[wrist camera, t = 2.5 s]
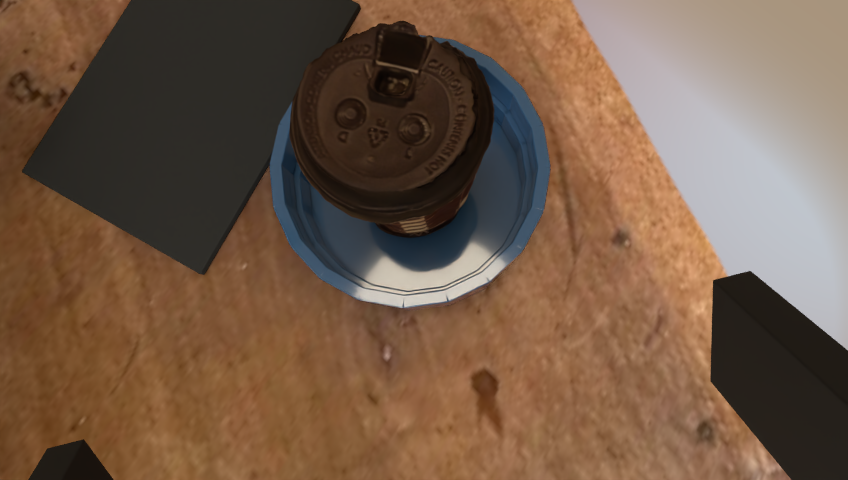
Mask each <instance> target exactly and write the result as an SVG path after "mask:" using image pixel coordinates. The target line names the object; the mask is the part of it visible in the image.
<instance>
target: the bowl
mask: <svg viewBox="0 0 848 480" xmlns="http://www.w3.org/2000/svg"><path fill="white" fill-rule="evenodd" d="M419 36H421V37H426V36H423V35H419ZM433 38H434V39H435V40H436V41H437V42H439V43H443V42H445V41H448V42H449V43H450V44H451V45H452V46H454V47H456V48H457V49H459V50H460V51H463V52H464V53H465V55H467V56H469V57H472V58H474V59H475V61H476V62H477V63H476V64H477V66H478V68H479V69H480V70H481V71H482V73H483V74H484V76H485V80H486V82H487V84H488V86H489V89H490V92H491V95H492V101H493V106H494V123H493V129H492V135H491V142H490V144H489V147H488V149H487V150H486V152H485V154H484V156H483V159H482V161H481V164H480V166H479V169H478V171H477V173H476V176H475V179H474V181H473V184H472V186H471V188H470V191H469V193H468V197H467V200H466V202H465V203H464V204H463V205H462V207H461V208H460V209H459V211H458V213H457V215H456V217H455V218H454V220H453V221H452V222H451V223H449V224H448V225H446V226H445V227H443V228H442V229H440V230H438V231H435V232H433V233H431V234H428V235H426V236H420V237H413V238H407V237H399V236H394V235H390V234H388V233H386V232H384V231H382V230H380V229H379V228H378V226H377V225H376V223H374V222H369V221H364V220H361V219H358V218H354V217H351V216H349V215H348V214H346V213H345V212H343V211H341V210H340V209H338V208H336V207H335V206H333V205H332V204H331V203H329V202H327V201H326V200H325V199H324V198H323V197H322V196H321V195H320V193H319V192H318V191H317V190H316V189H315V188H314V187H313V186H312V185H311V184H310V183H309V181H308V180H307V178H306V177H305V176H304V174H303V172H302V171H301V169H300V167H299V164H298V162H297V160H296V157H295V153H294V150H293V147H292V144H291V141H290V136H289V129H290V115H291V107H292V103H291V104H290V106H289V108H288V109H287V111H286V113H285V114H284V116H283V118H282V120H281V121H280V124H279V126H278V130H277V135H276V139H275V143H274V147H273V152H272V156H271V160H270V176H271V188H272V199H273V206H274V210H275V212H276V215H277V217H278V219H279V222H280V224H281V226H282V228H283V231H284V233H285V235H286V238H287V240H288V242H289V244H290V246H291V248H292V249H293V250H294V251H295V252H296V253H297V254H298V255H299V256H300V258H301V259H302V260H303V261H304V262H305V263H306V264H307V265H308V266H309V267H310V268H311V270H312V271H313V272H314V273H315V274H316V275H317V276H318V277H319V278H320V279H321V280H323V281H325V282H327V283H328V284H330V285H332V286H334V287H336V288H337V289H339V290H341V291H343V292H345V293H346V294H348V295H350V296H352V297H354V298H355V299H357V300H360V301H364V302H368V303H372V304H377V305H383V306H388V307H393V308H399V309H404V310H420V309H427V308H435V307H442V306H449V305H452V304H454V303H456V302H458V301H460V300H463V299H465V298H467V297H469V296H471V295H473V294H475V293H477V292H479V291H481V290H483V289H485V288H486V287H488V286H489V285H490V284H491V283H492V282H493V281H494V280H495V279H496V278H497V277H498V276H499V275H500V274H501V273H502V272H503V271H504V270H506V269H507V268H508V267H509V266H510V265H511V264H512V263H513V262H514V261H515V260H516V258H517V257H518V256H519V255H520V254H521V252H522V251H523V250H524V248H525V246H526V244H527V242H528V240H529V238H530V237H531V235H532V233H533V231H534V229H535V227H536V225H537V223H538V221H539V219H540V218H541V216H542V214H543V211H544V207H545V201H546V195H547V188H548V182H549V176H550V170H551V169H550V160H549V154H548V148H547V142H546V137H545V131H544V126H543V123H542V121H541V120H540V118H539V116H538V114H537V112H536V110H535V108H534V107H533V105H532V103H531V101H530V99H529V97H528V95H527V94H526V92H525V90H524V89H523V87H522V86H521V85H520V84H519V83H518V82H517V81H516V80H515V79H514V78H513V77H511V76H510V75H509V74H508V73H507V72H506V71H505V70H504V69H503V68H502V67H501V66H500V65H499V64H498V63H497V62H496V61H494V60H493V59H492V58H491V57H489V56H487V55H484V54H482V53H480V52H478V51H476V50H474V49H472V48H470V47H468V46H466V45H463V44H461V43H459V42H457V41H455V40H451V39H444V38H437V37H433Z"/></svg>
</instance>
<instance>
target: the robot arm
mask: <svg viewBox="0 0 848 480" xmlns="http://www.w3.org/2000/svg"><path fill="white" fill-rule="evenodd" d="M711 382H712V383H713V385H714V386H715V387H716V388H717V390H718V391H719V392H720V393H721V394H722V396H723V397H724V398H725V399H726V400H727V402H728V403H729V404H730V405H731V407H732V408H733V409H734V410H735V411H736V413H737V414H738V415H739V416H740V418H741V419H742V420H743V421H744V422H745V424H746V425H747V426H748V427H749V428H750V430H751V431H752V432H753V433H754V435H755V436H756V437H757V438H758V439H759V441H760V442H761V443H762V444H763V445H764V447H765V448H766V449H767V450H768V452H769V453H770V454H771V455H772V456H773V458H774V459H775V460H776V461H777V463H778V464H779V465H780V466H781V467H782V469H783V470H784V471H785V472H786V473H787V475H788V476H789V477H790V478H791V480H848V350H846V349H845V348H844V347H843V346H842V345H840V344H839V343H838V342H837V341H835V340H834V339H833V338H832V337H831V336H829V335H828V334H827V333H826V332H824V331H823V330H822V329H821V328H819V327H818V326H817V325H816V324H815V323H813V322H812V321H811V320H810V319H808V318H807V317H806V316H805V315H804V314H802V313H801V312H800V311H799V310H797V309H796V308H795V307H794V306H792V305H791V304H790V303H789V302H787V301H786V300H785V299H784V298H783V297H782V296H780V295H779V294H778V293H777V292H775V291H774V290H773V289H772V288H771V287H769V286H768V285H767V284H766V283H764V282H763V281H762V280H761V279H760V278H758V277H757V276H756V275H755V274H753V273H752V272H751V271H749V272H744V273H740V274H736V275H732V276H728V277H724V278H720V279H716V280H713V307H712V345H711ZM29 480H113V478H112V477H111V476H110V474H109V473H108V472H107V470H106V469H105V468H104V466H103V465H102V463H101V462H100V461H99V459H98V458H97V457H96V455H95V454H94V453H93V451H92V450H91V448H90V447H89V446H88V444H87V443H86V442H85V440H80V441H76V442H72V443H68V444H64V445H60V446H56V447H52V448H48V449H47V450H46V452H45V453H44V455H43V457H42V458H41V460H40V462H39V463H38V465H37V467H36V468H35V470H34V471H33V473H32V475H31V476H30V478H29Z"/></svg>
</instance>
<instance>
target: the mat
mask: <svg viewBox="0 0 848 480" xmlns="http://www.w3.org/2000/svg"><path fill="white" fill-rule="evenodd" d="M360 9H361V8H360V5H359V4H358V3H356V2H354V1H352V0H131V1H130V3H129V4H128V6H127V8H126V9H125V11H124V12H123V14H122V15H121V17H120V19H119V20H118V22H117V23H116V25H115V26H114V28H113V29H112V31H111V33H110V34H109V36H108V37H107V39H106V40H105V42H104V44H103V45H102V47H101V48H100V50H99V51H98V53H97V54H96V56H95V58H94V59H93V61H92V62H91V64H90V65H89V67H88V69H87V70H86V72H85V73H84V75H83V76H82V78H81V79H80V81H79V83H78V84H77V86H76V87H75V89H74V90H73V92H72V94H71V95H70V97H69V98H68V100H67V101H66V103H65V104H64V106H63V108H62V109H61V111H60V112H59V114H58V115H57V117H56V119H55V120H54V122H53V123H52V125H51V126H50V128H49V129H48V131H47V133H46V134H45V136H44V137H43V139H42V140H41V142H40V144H39V145H38V147H37V148H36V150H35V151H34V153H33V154H32V156H31V158H30V159H29V161H28V162H27V164H26V165H25V167H24V169H23V170H22V172H23V173H25V174H26V175H28V176H30V177H31V178H33V179H35V180H37V181H38V182H40V183H42V184H44V185H45V186H47V187H49V188H51V189H52V190H54V191H56V192H58V193H59V194H61V195H63V196H65V197H66V198H68V199H70V200H72V201H73V202H75V203H77V204H79V205H80V206H82V207H84V208H86V209H87V210H89V211H91V212H93V213H94V214H96V215H98V216H100V217H101V218H103V219H105V220H107V221H108V222H110V223H112V224H114V225H115V226H117V227H119V228H121V229H122V230H124V231H126V232H128V233H129V234H131V235H133V236H135V237H136V238H138V239H140V240H142V241H143V242H145V243H147V244H149V245H150V246H152V247H154V248H156V249H157V250H159V251H161V252H163V253H164V254H166V255H168V256H170V257H171V258H173V259H175V260H176V261H178V262H180V263H182V264H183V265H185V266H187V267H189V268H190V269H192V270H194V271H196V272H197V273H199V274H205V272H206V271H207V269H208V267H209V266H210V264H211V262H212V260H213V259H214V257H215V255H216V254H217V252H218V250H219V249H220V247H221V245H222V243H223V242H224V240H225V238H226V237H227V235H228V233H229V232H230V230H231V228H232V226H233V225H234V223H235V221H236V220H237V218H238V216H239V215H240V213H241V211H242V209H243V208H244V206H245V204H246V203H247V201H248V199H249V198H250V196H251V194H252V192H253V191H254V189H255V187H256V186H257V184H258V182H259V181H260V179H261V177H262V176H263V174H264V172H265V170H266V169H267V167H268V165H269V164H270V160H271V156H272V152H273V147H274V143H275V139H276V135H277V130H278V126H279V124H280V121H281V120H282V118H283V116H284V114H285V113H286V111H287V109H288V108H289V106H290V104H291V103H292V101H293V97H294V95H295V94H296V91H297V88H298V87H299V84H300V82H301V80H302V78H303V73H304V71H305V69H306V67H307V66H308V64H309V63H310V62H312V61H313V60H314V59H316V58H319V57H320V56H321V55H322V53H323V52H324V51H325V49H326V48H330V47H331V46H333V45H335V44H338V43H341V41H342V40H343V38H344V36H345V35H346V33H347V31H348V29H349V28H350V26H351V24H352V23H353V21H354V19H355V18H356V16H357V14H358V13H359V11H360Z"/></svg>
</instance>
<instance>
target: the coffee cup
mask: <svg viewBox="0 0 848 480" xmlns="http://www.w3.org/2000/svg"><path fill="white" fill-rule="evenodd" d="M476 63H477V62H476V61H475V59H474V58H472V57H469V56H467V55H465V53H464V52H463V51H460V50H459V49H457V48H456V47H454V46H452V45H451V44H450V43H449V42H448V41H445V42H443V43H439V42H437V41H436V40H435V39H434V38H433V37H432V36H426V37H421V36H419V35H418V32H417V30H416V28H415V25H412V24H410V23H408V22H406V21H398V22H396V23H393V24H390V25H388V24H382V23H380V24H378V25H377V26H376V27H372V28H370V29H369V30H367V31H365V32H362V33H360V34H357V33H356V34H353V35H352V36H350V37H349V38H346V39H345V40H344V41H343V42H341V43H338V44H335V45H333V46H331V47H330V48H326V49H325V51H324V52H323V53H322V55H321V56H320V57H319V58H316V59H314V60H313V61H312V62H310V63H309V64H308V66H307V67H306V69H305V71H304V73H303V78H302V80H301V82H300V84H299V87H298V88H297V91H296V94H295V95H294V97H293V101H292V107H291V115H290V129H289V136H290V141H291V144H292V147H293V150H294V153H295V157H296V160H297V162H298V164H299V167H300V169H301V171H302V172H303V174H304V176H305V177H306V178H307V180H308V181H309V183H310V184H311V185H312V186H313V187H314V188H315V189H316V190H317V191H318V192H319V193H320V195H321V196H322V197H323V198H324V199H325V200H326V201H327V202H329V203H331V204H332V205H333V206H335V207H336V208H338V209H340V210H341V211H343V212H345V213H346V214H348V215H349V216H351V217H354V218H358V219H361V220H364V221H369V222H374V223H376V225H377V226H378V228H379V229H380V230H382V231H384V232H386V233H388V234H390V235H394V236H399V237H407V238H413V237H420V236H426V235H428V234H431V233H433V232H435V231H438V230H440V229H442V228H443V227H445V226H446V225H448V224H449V223H451V222H452V221H453V220H454V218H455V217H456V215H457V213H458V211H459V209H460V208H461V207H462V205H463V204H464V203H465V202H466V200H467V197H468V193H469V191H470V188H471V186H472V184H473V181H474V179H475V176H476V173H477V171H478V169H479V166H480V164H481V161H482V159H483V156H484V154H485V152H486V150H487V149H488V147H489V144H490V142H491V135H492V129H493V123H494V106H493V101H492V95H491V92H490V89H489V86H488V84H487V82H486V80H485V76H484V74H483V73H482V71H481V70H480V69H479V68H478V66H477V64H476Z"/></svg>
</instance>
